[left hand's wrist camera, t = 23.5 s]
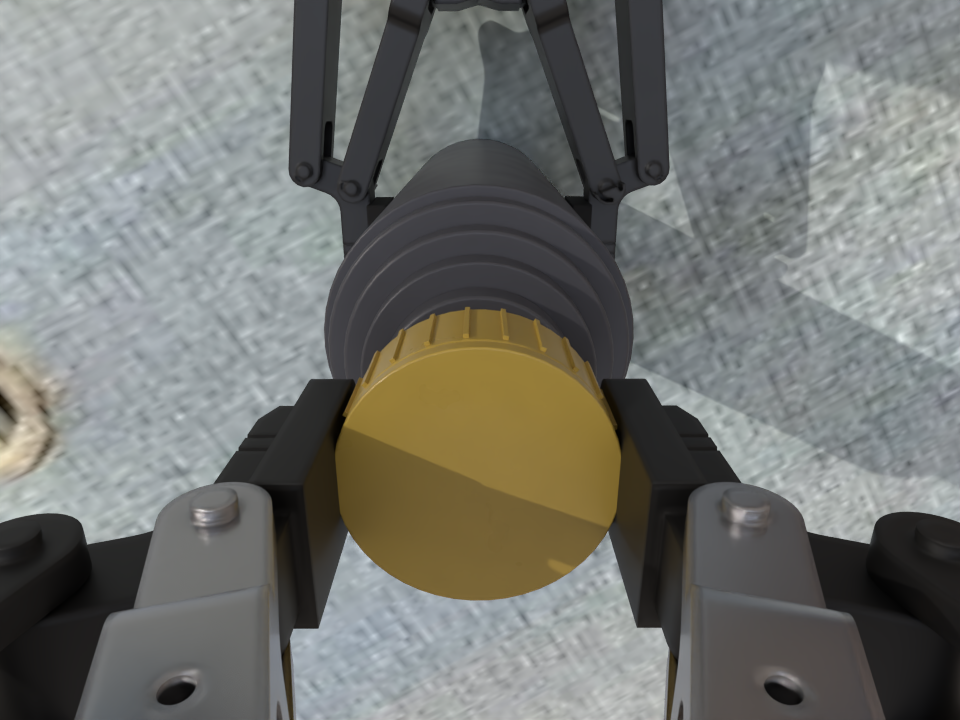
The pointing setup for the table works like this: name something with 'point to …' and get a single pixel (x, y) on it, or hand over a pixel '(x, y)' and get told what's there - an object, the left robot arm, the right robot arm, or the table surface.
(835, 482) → the table surface
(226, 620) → the left robot arm
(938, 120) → the table surface
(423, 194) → the bottle
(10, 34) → the table surface
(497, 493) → the cap
